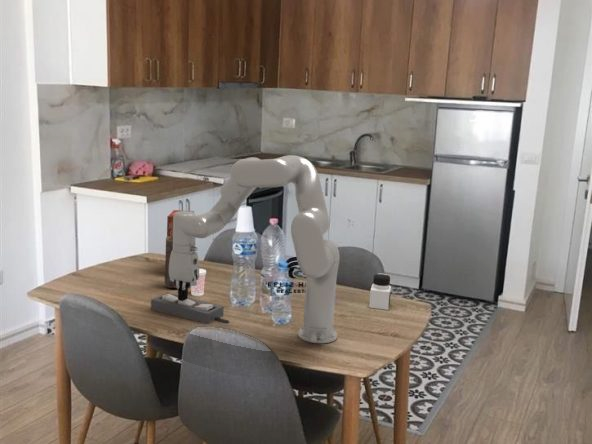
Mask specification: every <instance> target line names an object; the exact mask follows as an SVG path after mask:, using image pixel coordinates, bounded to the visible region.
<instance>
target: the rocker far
mask: <svg viewBox="0 0 592 444" xmlns="http://www.w3.org/2000/svg"><path fill="white" fill-rule="evenodd" d="M171 294H172V293H171ZM171 294H166V295H164V296H162V299H163V300H166V301H170V302H176V301H178V298H177V297H175V296H173V295H171Z"/></svg>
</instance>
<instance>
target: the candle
mask: <svg viewBox="0 0 592 444" xmlns="http://www.w3.org/2000/svg"><path fill="white" fill-rule="evenodd" d="M172 250H173V236H171V237H170V236H169V237H167V236H166V237H165V258H164V259H165V262H164V263H165V266H164V285H165V287H167V288H169V289H174V288H176V289H177V287H176V284H175V283H174V282H173V281H171V280H170V277H169V261H170V255H171V251H172Z"/></svg>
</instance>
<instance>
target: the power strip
mask: <svg viewBox="0 0 592 444" xmlns="http://www.w3.org/2000/svg"><path fill="white" fill-rule="evenodd" d="M166 294H171V295H173V296H175V297H177V298H178V294H175V293H171V292H165V293H163V294H161V295H158V296H156V297H153V298H150V309H151V310H153V311H158V312H161V313H165V314H168V315H173V316H176V317H180V318H184V319H189V320H191V321H195V322H198V323H203V324H207V325H209V324H211V323H212V322H215V321H218V322H222V323H225V324H229V323H230V320H229V319H226V318H222V317H224V311H225V310H224V305H220V304H216V303H212V302H207V301H203V300H200V299H199V300H198V299H195V298H192V297H191V298H190V297H187V299H189V300H191V301H194V302H196V304H195V305H193V306H186V305H182V304H178V301H176V302H170V301H166V300H163V299H162V296H164V295H166ZM199 304H213V308H212V309H210V310H207V311H206V310H202V309H198V308H195V306H197V305H199Z"/></svg>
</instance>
